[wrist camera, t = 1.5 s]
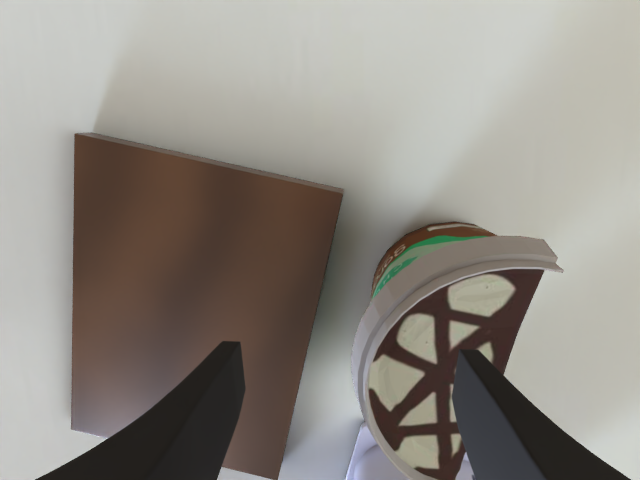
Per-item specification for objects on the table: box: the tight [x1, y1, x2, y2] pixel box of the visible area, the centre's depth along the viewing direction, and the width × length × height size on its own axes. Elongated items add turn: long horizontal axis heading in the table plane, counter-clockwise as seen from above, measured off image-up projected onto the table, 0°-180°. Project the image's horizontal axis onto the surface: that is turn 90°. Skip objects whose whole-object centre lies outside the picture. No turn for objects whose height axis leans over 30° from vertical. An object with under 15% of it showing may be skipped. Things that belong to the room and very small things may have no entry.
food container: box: [351, 222, 564, 480], centre depth 20 cm, size 12×6×10 cm, turn 167°
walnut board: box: [71, 133, 344, 480], centre depth 27 cm, size 16×22×2 cm
